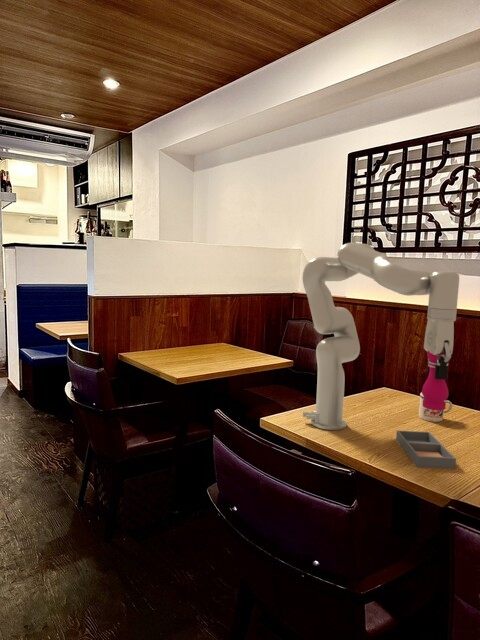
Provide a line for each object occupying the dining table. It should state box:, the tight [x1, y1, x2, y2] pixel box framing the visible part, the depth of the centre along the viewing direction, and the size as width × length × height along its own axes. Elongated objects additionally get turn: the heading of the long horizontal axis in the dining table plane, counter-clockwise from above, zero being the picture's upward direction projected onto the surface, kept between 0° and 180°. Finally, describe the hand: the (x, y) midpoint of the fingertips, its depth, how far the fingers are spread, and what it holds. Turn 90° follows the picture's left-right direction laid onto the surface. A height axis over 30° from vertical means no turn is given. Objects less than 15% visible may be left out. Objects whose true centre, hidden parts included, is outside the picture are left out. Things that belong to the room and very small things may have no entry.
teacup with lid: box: [418, 392, 453, 423], centre depth 173 cm, size 12×9×12 cm
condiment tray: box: [395, 429, 457, 470], centre depth 140 cm, size 11×21×3 cm, turn 177°
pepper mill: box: [421, 351, 449, 411], centre depth 132 cm, size 7×7×20 cm
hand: (436, 375), depth 132 cm, fingers closed on pepper mill, 5 cm apart
